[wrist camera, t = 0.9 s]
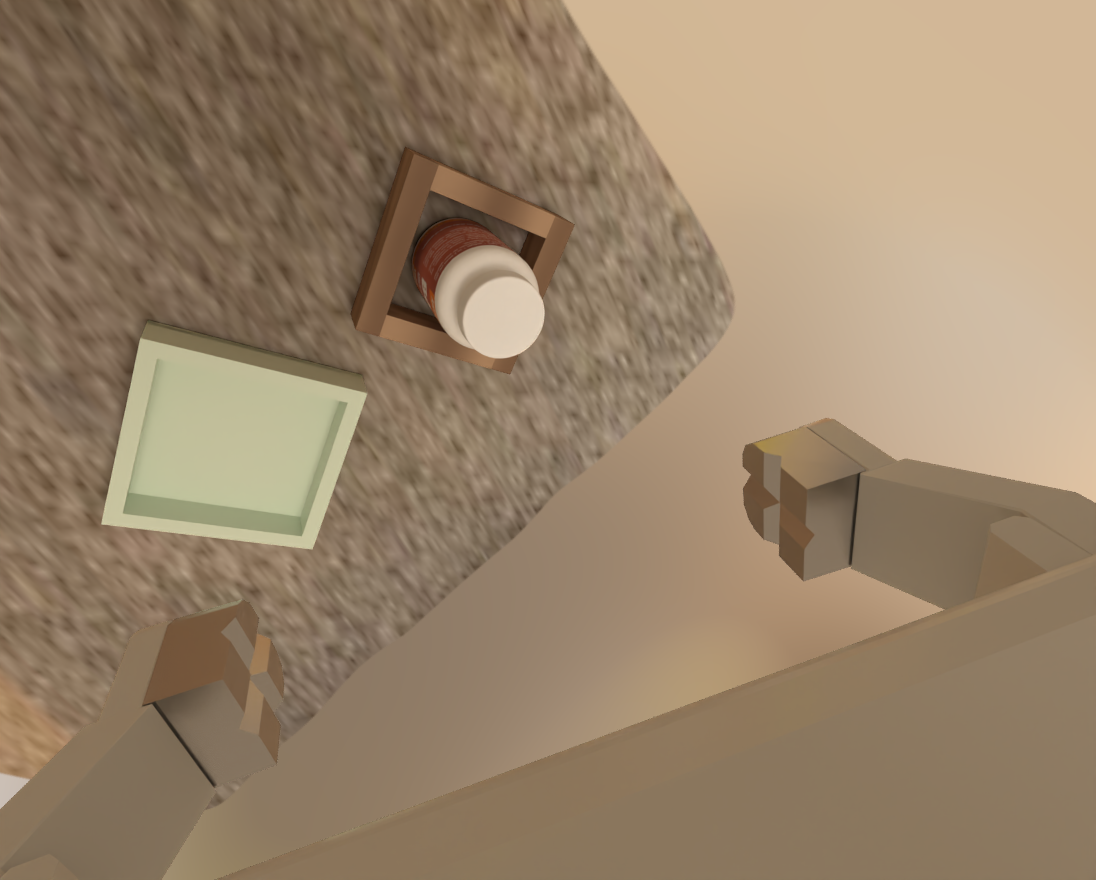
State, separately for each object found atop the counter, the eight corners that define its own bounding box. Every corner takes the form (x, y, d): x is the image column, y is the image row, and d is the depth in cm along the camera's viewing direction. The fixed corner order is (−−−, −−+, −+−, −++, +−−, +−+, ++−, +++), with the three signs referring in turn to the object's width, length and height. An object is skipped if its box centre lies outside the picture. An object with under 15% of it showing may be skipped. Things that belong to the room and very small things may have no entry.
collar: (350, 313, 43) (355, 329, 41) (405, 146, 39) (414, 153, 37) (497, 357, 49) (509, 374, 46) (558, 214, 45) (574, 224, 42)
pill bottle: (389, 265, 43) (423, 324, 34) (454, 195, 42) (506, 236, 33) (456, 325, 46) (502, 392, 37) (517, 261, 45) (579, 314, 37)
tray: (110, 497, 44) (101, 524, 41) (147, 320, 39) (140, 338, 37) (310, 524, 50) (312, 549, 48) (362, 374, 46) (367, 393, 43)
